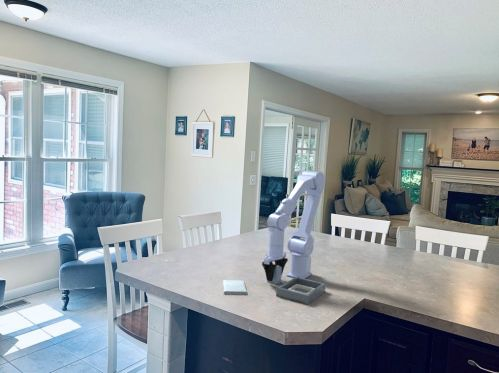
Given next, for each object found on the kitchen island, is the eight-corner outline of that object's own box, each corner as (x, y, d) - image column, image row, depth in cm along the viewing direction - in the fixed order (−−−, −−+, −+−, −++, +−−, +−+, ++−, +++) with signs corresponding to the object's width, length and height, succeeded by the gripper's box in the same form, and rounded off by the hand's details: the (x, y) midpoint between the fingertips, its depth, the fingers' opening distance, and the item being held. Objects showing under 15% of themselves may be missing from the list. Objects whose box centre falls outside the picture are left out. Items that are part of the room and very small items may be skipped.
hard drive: (246, 291, 137) (243, 280, 149) (223, 291, 136) (222, 279, 148) (246, 296, 137) (243, 284, 149) (223, 295, 136) (222, 283, 148)
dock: (295, 284, 150) (296, 276, 150) (325, 291, 144) (325, 283, 143) (276, 296, 137) (276, 287, 136) (307, 304, 130) (308, 295, 130)
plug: (272, 279, 155) (273, 263, 154) (280, 281, 152) (281, 265, 152) (267, 282, 151) (268, 265, 151) (276, 284, 149) (277, 267, 148)
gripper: (276, 239, 159) (274, 271, 160) (257, 245, 147) (256, 280, 148) (291, 242, 155) (289, 275, 156) (274, 249, 143) (272, 284, 144)
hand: (274, 278), depth 152 cm, fingers open, 7 cm apart
